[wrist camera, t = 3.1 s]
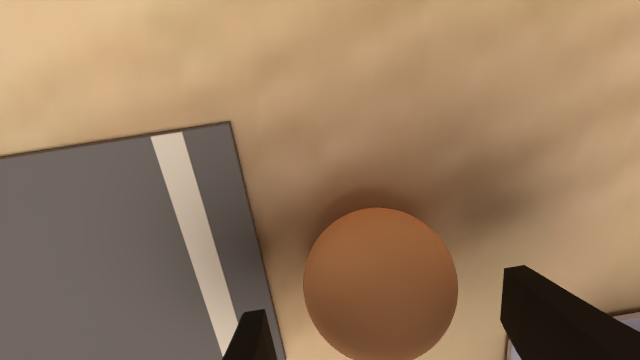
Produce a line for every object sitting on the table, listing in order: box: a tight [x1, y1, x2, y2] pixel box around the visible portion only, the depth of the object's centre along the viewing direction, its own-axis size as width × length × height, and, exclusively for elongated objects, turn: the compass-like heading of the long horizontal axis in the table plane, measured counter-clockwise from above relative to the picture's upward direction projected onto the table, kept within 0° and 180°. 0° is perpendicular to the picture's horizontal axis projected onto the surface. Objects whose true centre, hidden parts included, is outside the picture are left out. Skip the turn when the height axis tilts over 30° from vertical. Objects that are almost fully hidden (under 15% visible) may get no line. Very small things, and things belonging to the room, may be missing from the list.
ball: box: [303, 208, 458, 360], centre depth 13 cm, size 5×5×5 cm
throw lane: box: [0, 122, 286, 360], centre depth 15 cm, size 13×11×1 cm
